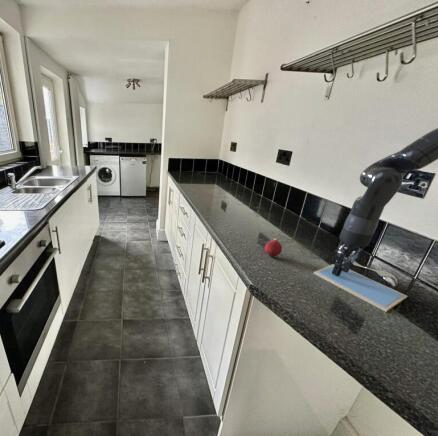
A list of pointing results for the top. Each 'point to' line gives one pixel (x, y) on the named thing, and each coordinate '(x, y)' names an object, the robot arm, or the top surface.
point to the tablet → (363, 288)
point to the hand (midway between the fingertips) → (339, 272)
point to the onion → (273, 248)
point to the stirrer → (382, 275)
